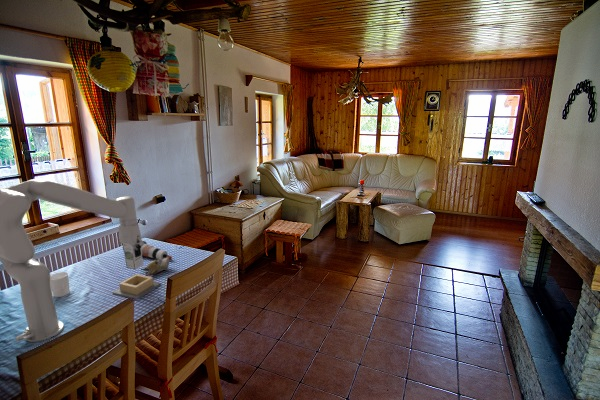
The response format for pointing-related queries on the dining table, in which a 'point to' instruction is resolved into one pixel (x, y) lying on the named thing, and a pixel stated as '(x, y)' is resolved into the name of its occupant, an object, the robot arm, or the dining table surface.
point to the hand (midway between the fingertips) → (133, 255)
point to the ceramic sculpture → (157, 266)
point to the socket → (136, 286)
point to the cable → (153, 252)
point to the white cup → (59, 284)
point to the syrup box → (132, 257)
